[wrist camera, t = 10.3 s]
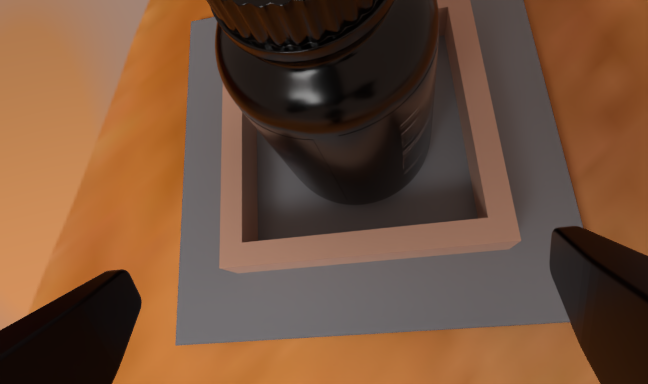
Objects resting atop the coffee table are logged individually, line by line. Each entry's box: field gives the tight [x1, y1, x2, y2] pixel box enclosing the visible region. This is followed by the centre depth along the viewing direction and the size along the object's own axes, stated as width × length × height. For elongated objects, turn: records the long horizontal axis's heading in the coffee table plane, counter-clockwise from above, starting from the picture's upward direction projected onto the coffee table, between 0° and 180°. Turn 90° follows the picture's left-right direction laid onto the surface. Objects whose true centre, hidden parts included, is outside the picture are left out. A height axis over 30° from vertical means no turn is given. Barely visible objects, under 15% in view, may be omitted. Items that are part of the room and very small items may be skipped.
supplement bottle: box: [207, 0, 439, 205], centre depth 14 cm, size 7×7×12 cm
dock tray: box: [176, 0, 583, 345], centre depth 19 cm, size 18×18×3 cm
